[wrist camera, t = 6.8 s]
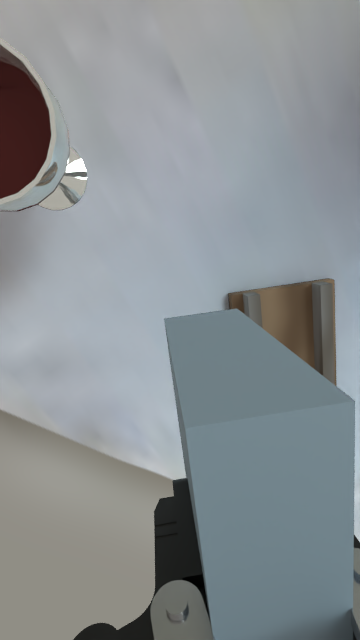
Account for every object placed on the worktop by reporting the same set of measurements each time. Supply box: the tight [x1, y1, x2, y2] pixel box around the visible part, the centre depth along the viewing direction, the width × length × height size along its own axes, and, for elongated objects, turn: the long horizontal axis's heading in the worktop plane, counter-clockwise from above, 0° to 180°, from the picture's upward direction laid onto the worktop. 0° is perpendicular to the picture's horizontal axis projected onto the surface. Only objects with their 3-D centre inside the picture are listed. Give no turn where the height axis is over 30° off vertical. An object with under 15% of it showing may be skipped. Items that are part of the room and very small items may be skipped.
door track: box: [228, 278, 336, 386], centre depth 30 cm, size 9×18×2 cm, turn 8°
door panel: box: [164, 309, 355, 640], centre depth 11 cm, size 3×12×8 cm, turn 7°
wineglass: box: [0, 38, 87, 211], centre depth 19 cm, size 7×7×12 cm
